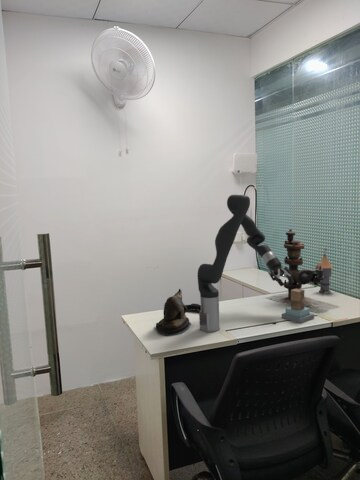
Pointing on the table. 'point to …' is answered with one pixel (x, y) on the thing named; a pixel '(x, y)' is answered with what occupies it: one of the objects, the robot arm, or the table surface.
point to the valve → (300, 277)
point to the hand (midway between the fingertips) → (287, 284)
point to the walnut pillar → (297, 299)
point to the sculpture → (174, 316)
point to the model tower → (325, 274)
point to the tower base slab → (298, 319)
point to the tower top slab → (297, 312)
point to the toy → (193, 307)
